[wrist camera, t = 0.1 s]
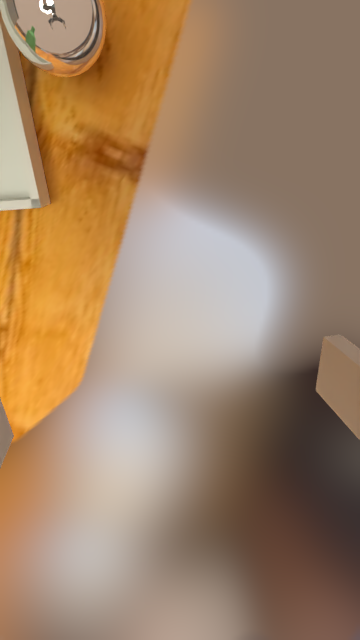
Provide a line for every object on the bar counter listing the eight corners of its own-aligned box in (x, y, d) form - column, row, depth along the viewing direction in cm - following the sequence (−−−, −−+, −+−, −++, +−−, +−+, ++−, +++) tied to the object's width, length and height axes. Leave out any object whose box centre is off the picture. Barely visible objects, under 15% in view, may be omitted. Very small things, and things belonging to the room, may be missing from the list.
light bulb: (16, 25, 29) (-49, -63, 18) (86, -10, 28) (64, -121, 18) (59, 111, 32) (26, 80, 21) (123, 80, 31) (123, 32, 21)
